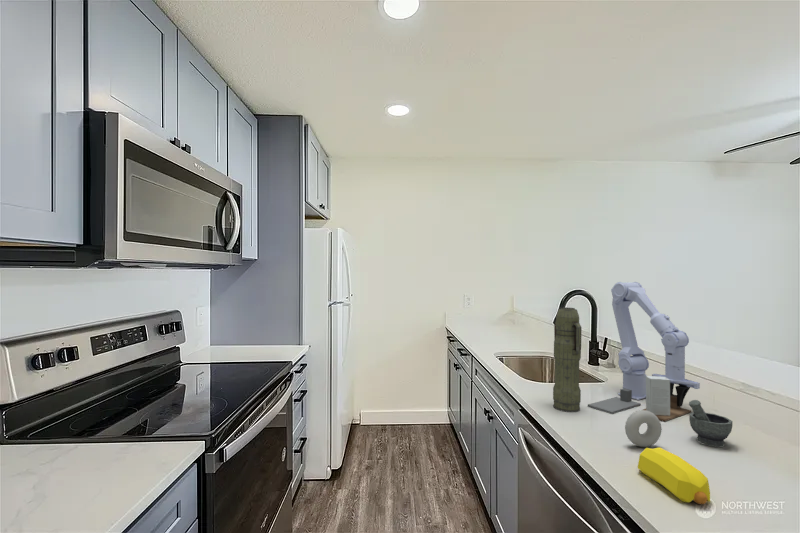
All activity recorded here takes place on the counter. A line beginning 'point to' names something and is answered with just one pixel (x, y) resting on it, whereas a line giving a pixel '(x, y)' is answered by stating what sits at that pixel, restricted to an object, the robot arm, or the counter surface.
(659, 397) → the skincare box
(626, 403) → the charcoal strip
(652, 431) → the donut
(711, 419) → the mortar and pestle
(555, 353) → the thermos
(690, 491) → the yellow banana
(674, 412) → the walnut strip
